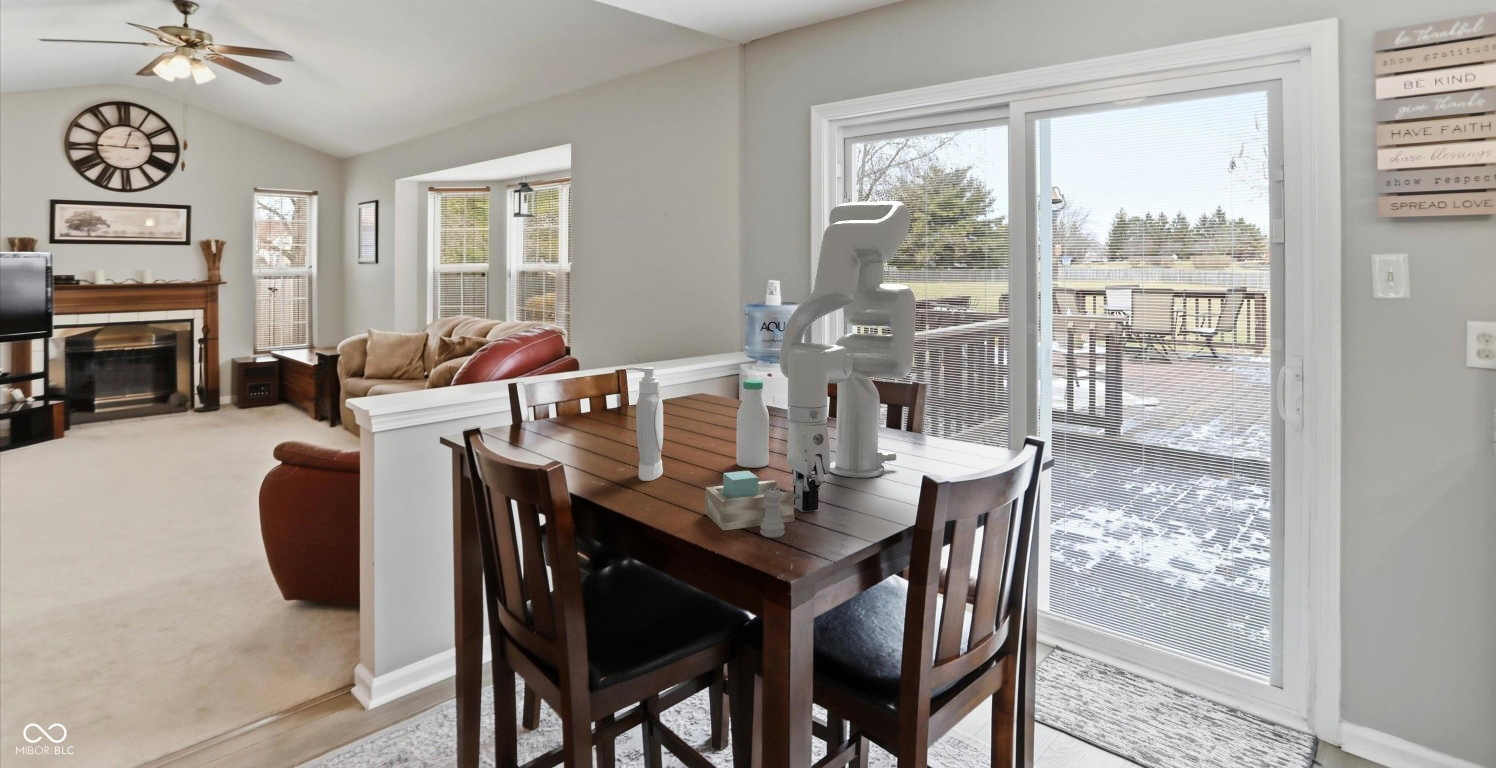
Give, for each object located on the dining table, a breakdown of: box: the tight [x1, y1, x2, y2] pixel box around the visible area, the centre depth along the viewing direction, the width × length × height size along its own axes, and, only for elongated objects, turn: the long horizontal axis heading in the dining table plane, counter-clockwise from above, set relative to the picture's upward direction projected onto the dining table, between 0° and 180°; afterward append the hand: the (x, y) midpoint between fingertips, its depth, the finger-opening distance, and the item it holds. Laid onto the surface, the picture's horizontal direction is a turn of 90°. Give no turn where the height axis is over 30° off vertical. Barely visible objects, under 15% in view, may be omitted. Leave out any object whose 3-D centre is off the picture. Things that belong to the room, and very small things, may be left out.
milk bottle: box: [735, 379, 770, 469], centre depth 179 cm, size 8×8×20 cm
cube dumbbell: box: [722, 470, 817, 513], centre depth 144 cm, size 18×5×8 cm, turn 112°
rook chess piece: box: [759, 487, 786, 539], centre depth 133 cm, size 4×4×8 cm
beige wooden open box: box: [704, 479, 795, 531], centre depth 142 cm, size 14×10×5 cm
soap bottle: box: [625, 366, 664, 482], centre depth 169 cm, size 13×8×24 cm, turn 174°
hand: (805, 506), depth 147 cm, fingers closed on cube dumbbell, 3 cm apart
